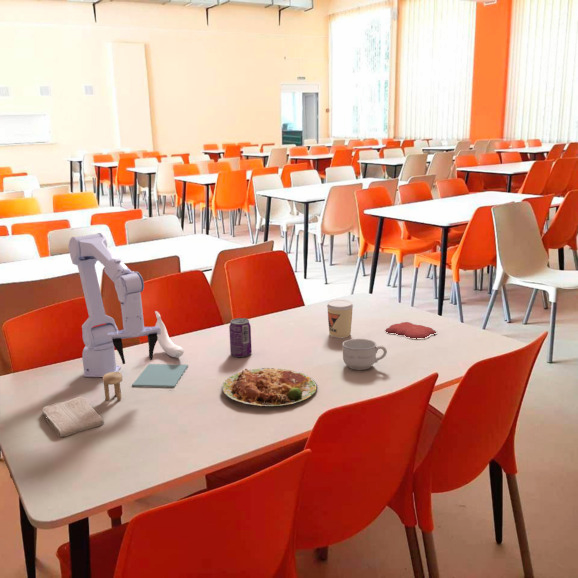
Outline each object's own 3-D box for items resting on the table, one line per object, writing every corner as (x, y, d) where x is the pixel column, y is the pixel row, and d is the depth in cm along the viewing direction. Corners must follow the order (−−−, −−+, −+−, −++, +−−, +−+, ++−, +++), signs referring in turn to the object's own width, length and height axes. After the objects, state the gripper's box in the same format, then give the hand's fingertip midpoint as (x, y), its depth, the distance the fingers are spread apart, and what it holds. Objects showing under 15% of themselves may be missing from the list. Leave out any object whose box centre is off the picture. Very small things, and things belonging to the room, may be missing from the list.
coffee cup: (322, 332, 228) (322, 301, 225) (344, 328, 232) (344, 298, 228) (334, 340, 220) (334, 308, 217) (357, 336, 224) (357, 304, 220)
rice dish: (296, 369, 199) (295, 353, 198) (332, 401, 174) (332, 382, 173) (211, 384, 190) (210, 367, 188) (237, 419, 164) (236, 400, 163)
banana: (178, 366, 200) (175, 323, 196) (152, 349, 215) (148, 309, 211) (191, 362, 203) (188, 320, 199) (165, 346, 218) (161, 306, 214)
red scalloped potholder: (380, 332, 228) (380, 327, 228) (401, 323, 238) (401, 318, 237) (421, 343, 217) (422, 338, 216) (441, 333, 226) (442, 327, 226)
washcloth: (82, 402, 177) (81, 392, 176) (106, 426, 163) (104, 415, 162) (39, 415, 170) (38, 405, 169) (60, 440, 156) (59, 429, 155)
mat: (132, 386, 186) (132, 384, 185) (149, 365, 201) (148, 363, 201) (174, 387, 184) (174, 385, 184) (188, 366, 200) (188, 364, 200)
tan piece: (102, 401, 176) (100, 379, 174) (109, 393, 181) (107, 371, 179) (120, 402, 175) (117, 379, 174) (126, 394, 180) (124, 372, 179)
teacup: (336, 369, 195) (336, 345, 193) (350, 357, 204) (350, 335, 202) (378, 377, 188) (379, 352, 186) (390, 364, 198) (391, 341, 196)
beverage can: (253, 350, 212) (251, 317, 209) (249, 358, 205) (248, 324, 202) (232, 350, 213) (231, 317, 209) (228, 358, 206) (227, 324, 202)
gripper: (106, 322, 168) (112, 369, 172) (160, 316, 172) (164, 361, 176) (105, 316, 175) (110, 361, 178) (157, 309, 179) (161, 353, 182)
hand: (137, 360), depth 177 cm, fingers open, 7 cm apart
